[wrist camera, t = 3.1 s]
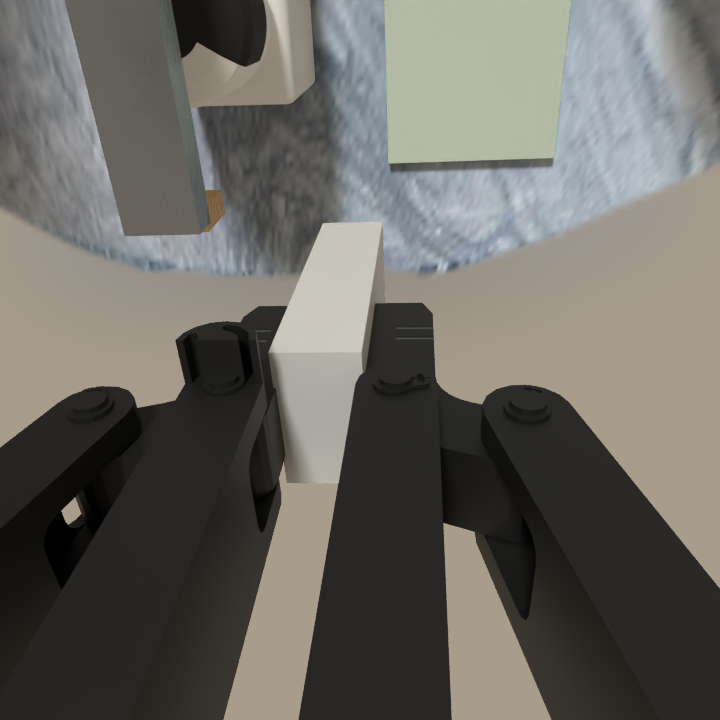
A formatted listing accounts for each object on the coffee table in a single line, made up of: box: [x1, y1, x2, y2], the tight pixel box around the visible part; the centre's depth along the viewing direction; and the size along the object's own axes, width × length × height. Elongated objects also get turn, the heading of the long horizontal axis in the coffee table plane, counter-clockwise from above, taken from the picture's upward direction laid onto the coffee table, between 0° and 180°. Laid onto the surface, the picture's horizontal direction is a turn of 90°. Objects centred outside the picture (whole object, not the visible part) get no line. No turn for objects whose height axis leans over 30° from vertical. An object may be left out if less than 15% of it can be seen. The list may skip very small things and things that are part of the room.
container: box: [171, 0, 315, 108], centre depth 29 cm, size 8×8×13 cm
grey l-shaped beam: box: [65, 0, 225, 236], centre depth 26 cm, size 3×15×15 cm, turn 3°
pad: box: [384, 0, 571, 163], centre depth 35 cm, size 10×10×1 cm
